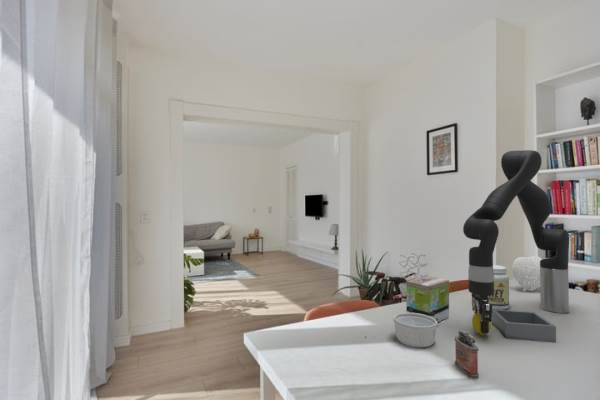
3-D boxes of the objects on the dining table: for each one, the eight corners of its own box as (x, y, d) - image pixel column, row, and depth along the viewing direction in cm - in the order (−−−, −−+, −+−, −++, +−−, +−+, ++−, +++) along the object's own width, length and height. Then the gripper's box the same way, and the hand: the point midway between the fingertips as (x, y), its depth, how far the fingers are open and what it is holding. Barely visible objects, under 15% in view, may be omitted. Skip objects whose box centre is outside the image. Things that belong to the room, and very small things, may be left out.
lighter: (451, 363, 90) (451, 327, 90) (463, 362, 90) (463, 326, 90) (469, 379, 82) (468, 339, 82) (482, 378, 82) (481, 338, 82)
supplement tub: (477, 308, 136) (477, 268, 137) (474, 300, 148) (474, 263, 148) (512, 312, 132) (511, 270, 132) (506, 303, 143) (505, 264, 143)
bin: (491, 323, 120) (491, 309, 120) (535, 326, 117) (535, 312, 117) (506, 338, 106) (506, 323, 106) (556, 342, 103) (555, 326, 103)
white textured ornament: (526, 295, 156) (525, 259, 156) (506, 289, 166) (505, 255, 166) (553, 291, 161) (552, 257, 161) (532, 286, 171) (531, 253, 172)
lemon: (494, 339, 106) (493, 314, 106) (475, 338, 107) (475, 313, 107) (487, 332, 111) (487, 309, 111) (470, 331, 112) (469, 308, 112)
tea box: (431, 327, 116) (430, 285, 116) (405, 320, 124) (405, 280, 124) (450, 317, 126) (449, 279, 126) (425, 311, 134) (425, 275, 134)
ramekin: (436, 335, 109) (435, 314, 109) (439, 352, 97) (438, 329, 97) (394, 330, 114) (394, 310, 114) (392, 346, 101) (392, 323, 101)
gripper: (501, 284, 101) (502, 339, 101) (486, 274, 115) (487, 322, 115) (474, 283, 103) (475, 337, 103) (463, 273, 117) (463, 321, 117)
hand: (481, 329), depth 109 cm, fingers closed on lemon, 5 cm apart
